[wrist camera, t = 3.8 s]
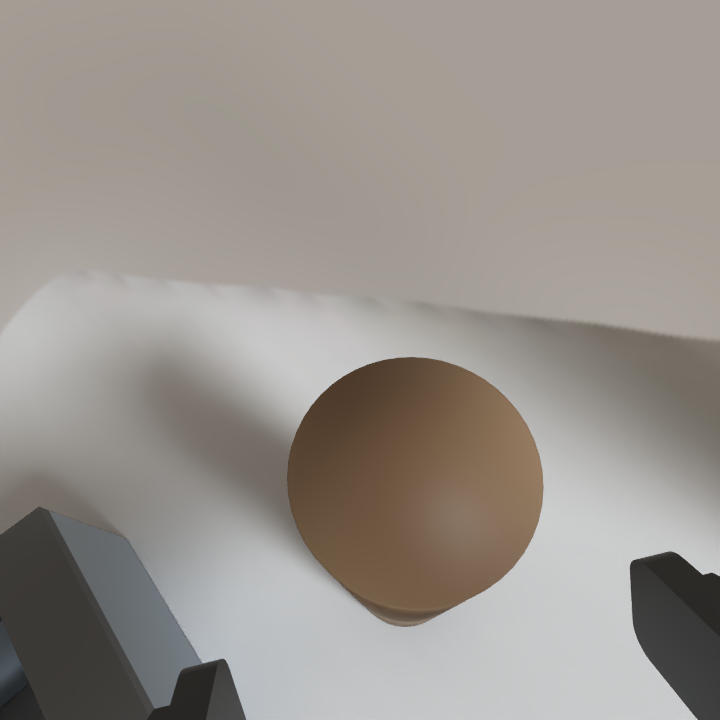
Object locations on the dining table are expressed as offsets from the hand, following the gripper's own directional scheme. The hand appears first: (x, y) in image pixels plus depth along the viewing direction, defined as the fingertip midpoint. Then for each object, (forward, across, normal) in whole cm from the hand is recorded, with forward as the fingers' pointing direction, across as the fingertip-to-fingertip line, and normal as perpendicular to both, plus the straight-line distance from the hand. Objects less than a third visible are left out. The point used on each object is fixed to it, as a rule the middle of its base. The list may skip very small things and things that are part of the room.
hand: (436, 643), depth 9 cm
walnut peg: (+9, 0, +6) cm, 11 cm away
